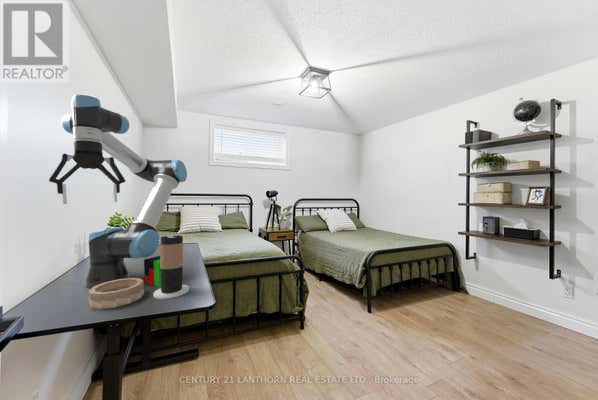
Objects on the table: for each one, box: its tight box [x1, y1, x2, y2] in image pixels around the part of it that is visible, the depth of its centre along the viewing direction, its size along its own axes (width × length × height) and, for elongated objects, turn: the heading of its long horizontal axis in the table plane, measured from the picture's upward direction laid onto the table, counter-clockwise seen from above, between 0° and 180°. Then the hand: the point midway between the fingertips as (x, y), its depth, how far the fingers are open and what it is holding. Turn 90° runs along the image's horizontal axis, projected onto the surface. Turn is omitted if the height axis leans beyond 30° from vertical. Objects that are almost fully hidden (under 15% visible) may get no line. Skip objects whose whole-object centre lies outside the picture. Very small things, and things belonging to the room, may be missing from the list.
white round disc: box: [152, 284, 190, 300], centre depth 95 cm, size 12×12×1 cm
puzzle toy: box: [143, 255, 161, 287], centre depth 108 cm, size 10×10×10 cm
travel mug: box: [159, 235, 184, 293], centre depth 95 cm, size 8×8×20 cm
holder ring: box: [88, 277, 145, 310], centre depth 90 cm, size 15×15×5 cm
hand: (91, 203), depth 87 cm, fingers open, 13 cm apart
